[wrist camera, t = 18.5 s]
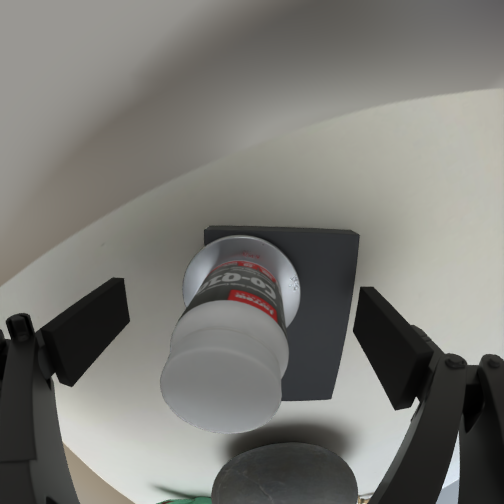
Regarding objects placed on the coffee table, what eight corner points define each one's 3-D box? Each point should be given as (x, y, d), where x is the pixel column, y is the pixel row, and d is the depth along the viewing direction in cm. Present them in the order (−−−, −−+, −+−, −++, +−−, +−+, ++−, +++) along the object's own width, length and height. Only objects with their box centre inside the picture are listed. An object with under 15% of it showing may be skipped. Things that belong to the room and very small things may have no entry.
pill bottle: (282, 257, 15) (301, 337, 7) (280, 332, 16) (290, 440, 8) (197, 258, 15) (135, 331, 7) (204, 331, 17) (165, 432, 8)
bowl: (230, 483, 27) (223, 540, 17) (206, 421, 24) (188, 501, 14) (339, 474, 26) (349, 531, 16) (353, 409, 23) (378, 487, 13)
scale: (327, 385, 22) (334, 412, 19) (213, 383, 22) (206, 410, 19) (351, 229, 19) (368, 239, 15) (206, 225, 19) (193, 233, 16)
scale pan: (162, 274, 16) (159, 276, 16) (259, 211, 15) (258, 211, 15) (227, 358, 18) (226, 362, 17) (320, 308, 16) (321, 312, 16)
